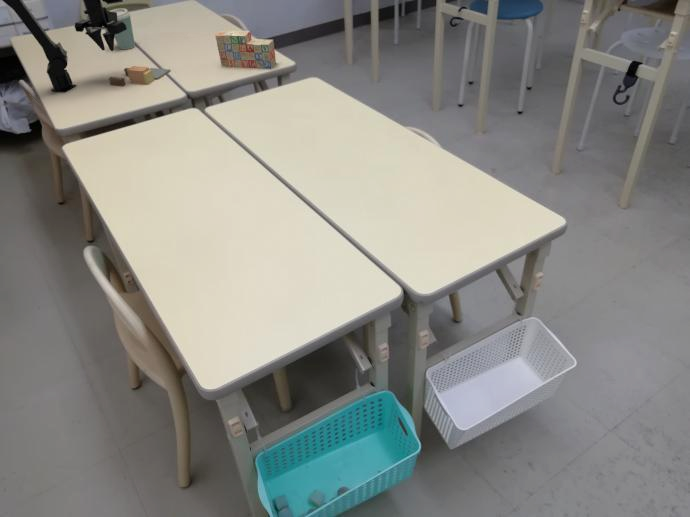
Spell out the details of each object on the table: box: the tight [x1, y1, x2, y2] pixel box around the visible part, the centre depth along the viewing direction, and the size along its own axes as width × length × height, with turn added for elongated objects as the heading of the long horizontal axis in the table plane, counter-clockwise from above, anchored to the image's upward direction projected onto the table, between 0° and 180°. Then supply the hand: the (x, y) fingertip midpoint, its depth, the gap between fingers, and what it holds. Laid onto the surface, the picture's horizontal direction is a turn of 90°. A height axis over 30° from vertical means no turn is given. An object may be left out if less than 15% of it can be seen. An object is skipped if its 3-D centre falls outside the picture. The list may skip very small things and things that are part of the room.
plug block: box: [127, 65, 156, 85], centre depth 202 cm, size 4×8×5 cm, turn 72°
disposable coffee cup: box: [108, 8, 136, 50], centre depth 232 cm, size 11×11×15 cm
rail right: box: [123, 67, 130, 77], centre depth 209 cm, size 2×6×2 cm, turn 72°
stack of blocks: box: [215, 30, 277, 69], centre depth 209 cm, size 21×6×12 cm, turn 76°
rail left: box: [108, 76, 127, 87], centre depth 202 cm, size 2×6×2 cm, turn 72°
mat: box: [149, 67, 172, 81], centre depth 209 cm, size 9×9×1 cm
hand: (108, 50), depth 200 cm, fingers open, 4 cm apart
